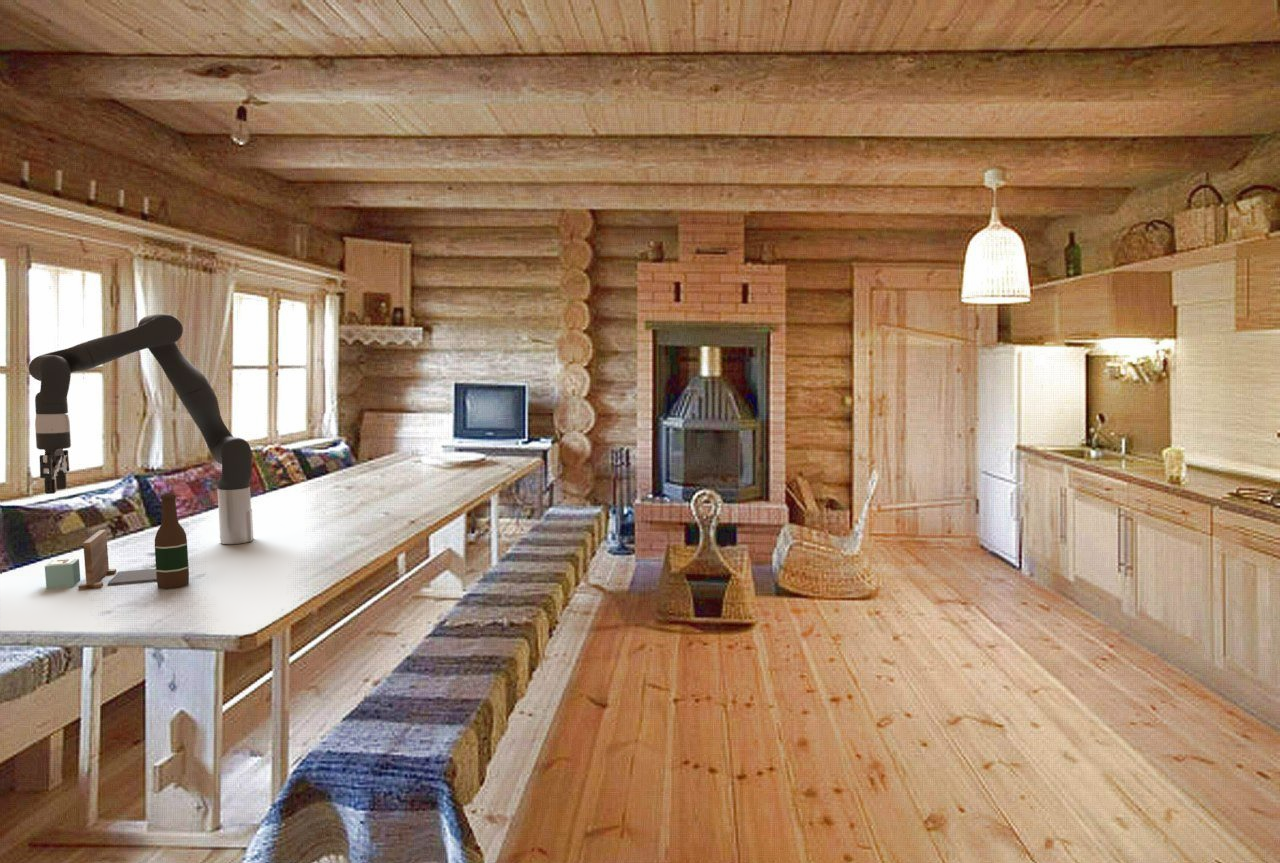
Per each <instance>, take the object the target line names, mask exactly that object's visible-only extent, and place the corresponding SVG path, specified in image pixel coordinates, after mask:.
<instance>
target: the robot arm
mask: <svg viewBox="0 0 1280 863" xmlns="http://www.w3.org/2000/svg"><path fill="white" fill-rule="evenodd" d="M183 332H184V327H183V324H182V322H181V321H180V319H179V318H178V317H176V316H174V315H173V314H169V313H156V314H150V315H145V316H144V317H142V318H141V319H140V320H139V322H138V323H137V326H136V327H133V328H131V329H128V330H124V331H121V332H118V333H112V334H109V335H104V336H101V337H97V338H93V339H90V340H87V341H85V342H82V343H79V344H76V345H73V346H71V347H67V348H64V349H60V350H55V351H52V352H48V353H44V354H40V355H39V356H36V357H34V358H33V359H32V360H30V363H29V364H28V373H29V375H30V376H31V377H32V378H34V380H37V381H39V382H40V389H39V392H37V394H36V395H35V398H34V407H35V418H34V419H35V420H34V422H35V423H34V426H35V428H34V429H35V444H36V445H35V446H36V449H38V450H39V451H40V450H42V451H44V454H41V455H39V477H40V479H43V480H44V481H43V482H44V493H45V494H46V495H51V494H52V495H53V494H55V493H57V492H56V490H65V489H67V485H68V484H67V474H68V472H70V460H69V450H68V449H69V448H71V447H72V444H71V442H72V440H71V423H70V422H71V421H70V417H69V406H68V394H69V391H70V390H69V389H70V385H71V384H70V383H71V375H72V373H76V372H83V371H87V370H90V369H93V368H95V367H96V368H97V367H99V366H101V365H104V364H107V363H110V362H111V361H115V360H117V359H120V358H122V357H125V356H127V355H130V354H133V353H135V352H139V351H142V350H145V349H148V351H149V352H150V353H151V354H152V356H153V357H154V359H155V360H156V361H157V363H158V364H159V365H160V367H161V369H162V370H163V372H164V375H165V377H167V379H168V381H169V383H170V384H171V386H172V387H173V389H174V390H175V392H176V395H177V397H178V399H179V400H180V402H181V403H182V405H183V406H184V408H185V410H186V411H187V412H188V414H189V416H190V417H191V419H192V420H193V422H194V423H195V425H196V426H197V428H198V429H199V431H200V433H201V435H202V437H203V438H204V441H205V443H206V445H207V446H206V447H207V448H208V449H209V450H208V451H209V453H210V454H211V456H212V458H213V460H214V461H215V462H217V463H218V464H220V465H221V475H220V477H219V478H218V479H217V481H216V483H217V484H216V485H217V488H216V489H217V501H218V502H217V504H218V523H219V539H220V540H219V541H220V544H222V545H223V544H224V545H238V544H240V545H241V544H244V543H251V542H253V540H254V526H253V524H254V523H253V509H252V502H251V501H252V500H251V479H252V476H253V456H252V455H253V454H252V448H251V445H250V444H249V442H248V441H247V440H245V439H243V438H240V437H236V436H234V435H233V434H232V433H231V431H230V430H229V428H228V427H227V425H226V424H225V422H224V421H223V418H222V416H221V410H220V406H219V401H218V397H217V395H216V392H215V391H214V389H213V388H212V385H211V384H210V382H209V381H208V379H207V378H206V376H205V375H204V374H203V373H202V372H201V371H200V369H198V367H196V366H195V365H194V364H193V363H191V362H190V361H189V359H187V357H186V356H185V355H184V354H183V353H182V351H181V349H180V348H179V346H178V344H177V342H178V341H179V340H180V339H181V337H182V335H183Z"/></svg>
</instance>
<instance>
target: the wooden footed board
mask: <svg viewBox="0 0 1280 863" xmlns="http://www.w3.org/2000/svg"><path fill="white" fill-rule="evenodd" d="M107 537H108V536H107V529H99V530H98V531H97V532H95V533H94V534H93V535H91V536H90V537H89V538H88V539H86V540H85V541H83V544H82V545H83V556H84V557H83V558H84V571H85V572H84V573H85V583H80V584H79V585H78V586H77V587H78V588H77V589H78V590H79V591H80V590H82V591H83V590H91V589H93V590H94V589H101V587H102V586H103V587H104V581H101V580H102V579H103V578H104V579H105V578H106V577H107V576H108V575H109V576H110V575H116V574H117V568H110V565H109V554H108V552H109V551H108V538H107ZM104 579H103V580H104ZM103 587H102V588H103Z"/></svg>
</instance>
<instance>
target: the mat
mask: <svg viewBox="0 0 1280 863" xmlns="http://www.w3.org/2000/svg"><path fill="white" fill-rule="evenodd" d="M150 582H157V576H156V568H150V569H149V568H147V569H135V570H134V569H133V570H123V571H120V570H119V571H118V572H116V573H115V574H114V576H113V577H112V578H111V579H110V580H109V581H108V582H107V586H114V584H118V585H127V584H139V583H141V584H142V583H150Z"/></svg>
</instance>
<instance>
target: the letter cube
mask: <svg viewBox="0 0 1280 863" xmlns="http://www.w3.org/2000/svg"><path fill="white" fill-rule="evenodd" d="M80 570H81V569H80V558H71V559H70V558H68V559H56V560H51V561H50V562H48V563H47V564H45V565H44V574H45V575H44V576H45V585H46V586H45V588H46V590H50V589H63V588H73V587H75V586H77V585H78V584H79V583H80V582H81V571H80Z"/></svg>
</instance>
